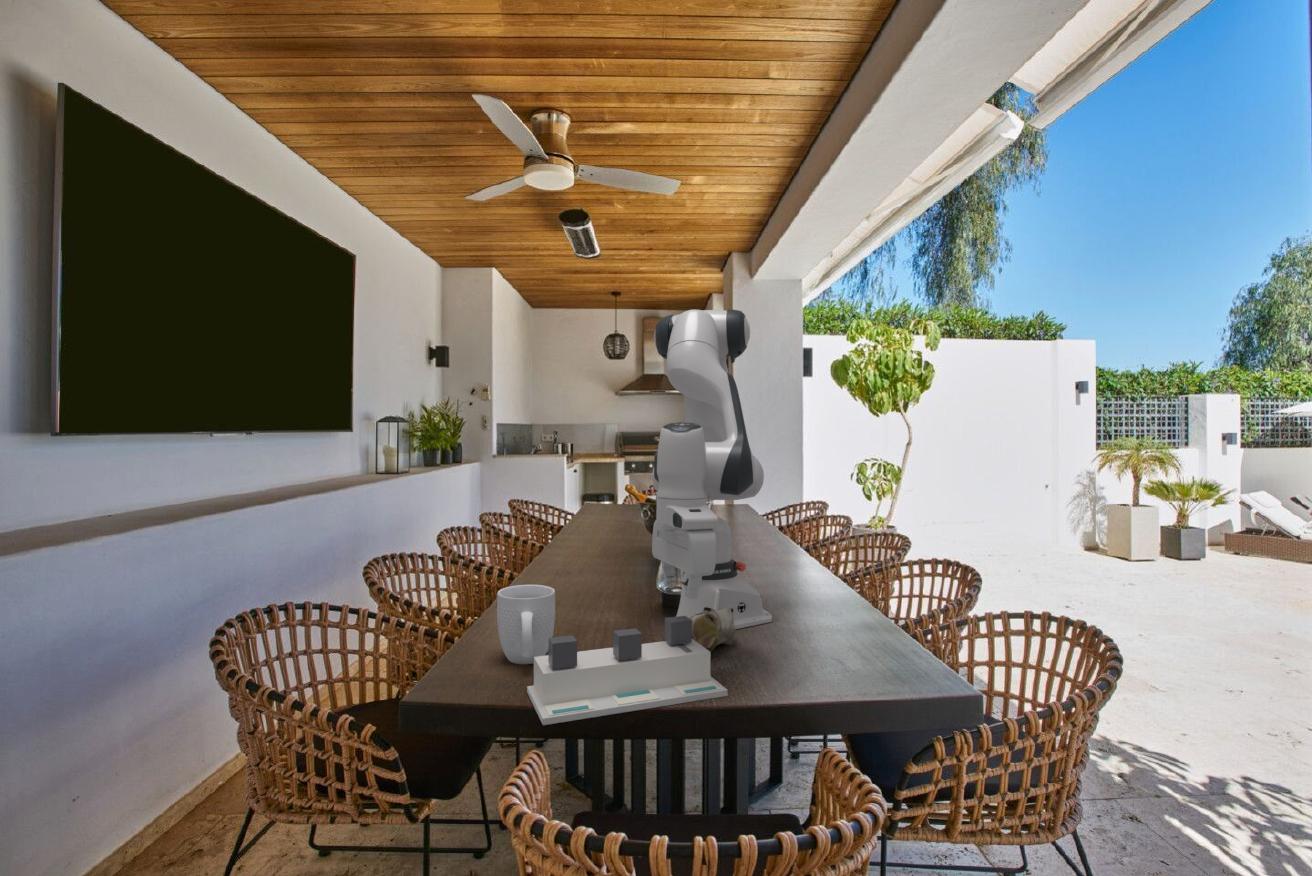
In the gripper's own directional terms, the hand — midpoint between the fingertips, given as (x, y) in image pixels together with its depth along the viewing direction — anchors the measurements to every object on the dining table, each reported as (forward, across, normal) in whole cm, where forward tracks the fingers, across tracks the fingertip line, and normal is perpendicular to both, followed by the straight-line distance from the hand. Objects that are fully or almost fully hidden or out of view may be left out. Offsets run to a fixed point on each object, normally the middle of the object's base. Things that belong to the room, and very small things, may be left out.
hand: (680, 592), depth 115 cm
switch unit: (+16, +2, -11) cm, 19 cm away
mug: (+16, -19, -24) cm, 34 cm away
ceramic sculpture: (+16, -14, +12) cm, 24 cm away
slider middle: (+9, +2, -11) cm, 14 cm away
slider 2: (+9, -2, 0) cm, 9 cm away
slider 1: (+10, +2, -22) cm, 24 cm away
